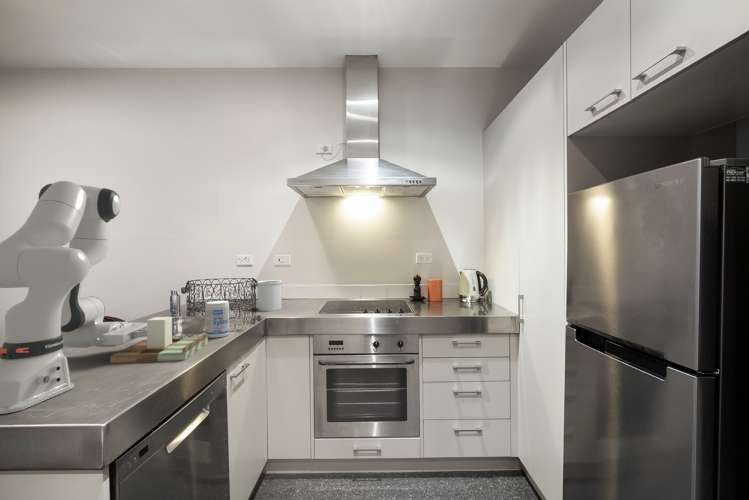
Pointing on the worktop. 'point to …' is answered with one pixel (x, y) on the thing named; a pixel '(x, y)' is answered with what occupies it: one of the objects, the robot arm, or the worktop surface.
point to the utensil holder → (269, 295)
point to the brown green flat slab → (160, 351)
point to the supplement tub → (217, 318)
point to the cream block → (159, 332)
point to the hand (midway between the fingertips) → (151, 332)
